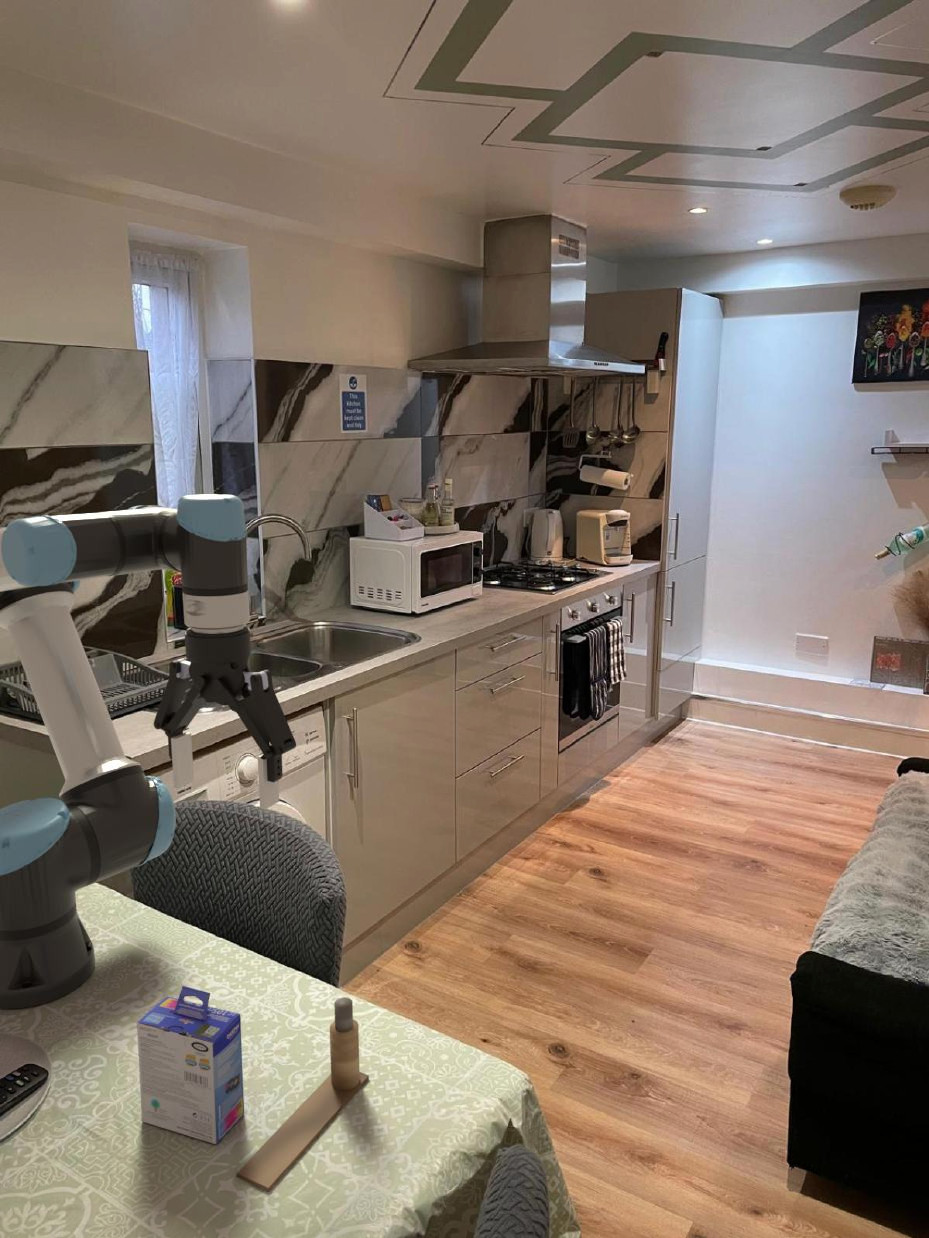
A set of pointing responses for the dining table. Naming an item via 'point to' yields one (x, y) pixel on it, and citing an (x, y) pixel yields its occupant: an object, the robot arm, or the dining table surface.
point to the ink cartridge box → (191, 1067)
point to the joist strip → (296, 1134)
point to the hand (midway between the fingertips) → (225, 794)
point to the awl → (344, 1047)
